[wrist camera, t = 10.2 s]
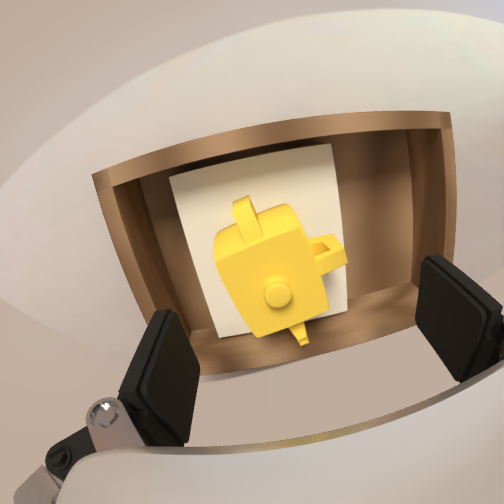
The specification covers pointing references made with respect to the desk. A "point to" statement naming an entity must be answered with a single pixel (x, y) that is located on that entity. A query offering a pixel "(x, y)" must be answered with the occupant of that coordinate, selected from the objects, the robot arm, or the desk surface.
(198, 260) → the plate
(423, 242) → the box
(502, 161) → the desk surface
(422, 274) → the robot arm
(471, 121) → the desk surface
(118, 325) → the desk surface
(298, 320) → the teapot
